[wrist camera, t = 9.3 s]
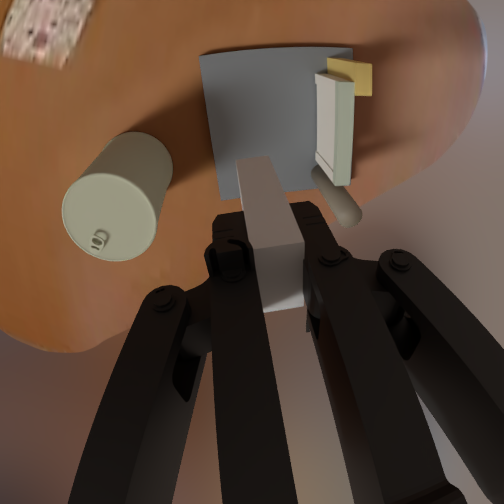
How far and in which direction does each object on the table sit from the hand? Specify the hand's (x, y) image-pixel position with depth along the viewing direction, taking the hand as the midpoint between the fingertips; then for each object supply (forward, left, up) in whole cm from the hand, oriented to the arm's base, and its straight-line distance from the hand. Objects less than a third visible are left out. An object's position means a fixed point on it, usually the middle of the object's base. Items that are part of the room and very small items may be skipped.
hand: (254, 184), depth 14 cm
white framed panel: (+2, +9, -19) cm, 21 cm away
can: (+6, -12, -21) cm, 25 cm away
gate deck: (+3, +5, -20) cm, 21 cm away
